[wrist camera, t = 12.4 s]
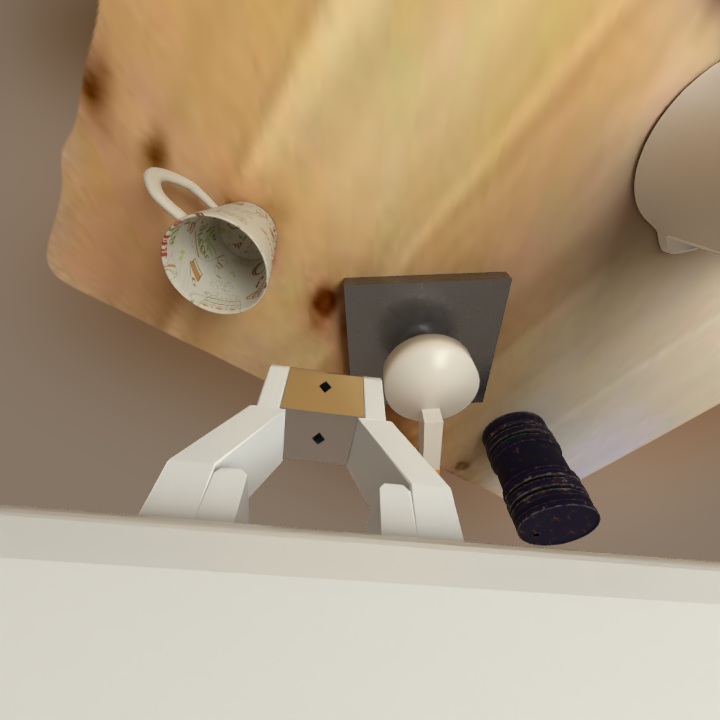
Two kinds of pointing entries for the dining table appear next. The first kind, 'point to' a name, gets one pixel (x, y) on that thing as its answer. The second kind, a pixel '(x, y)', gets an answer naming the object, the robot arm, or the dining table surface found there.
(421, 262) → the dining table surface
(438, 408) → the white handled oval piece
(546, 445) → the dark blue ribbed cylinder
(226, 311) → the mug
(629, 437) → the dining table surface
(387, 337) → the plate
